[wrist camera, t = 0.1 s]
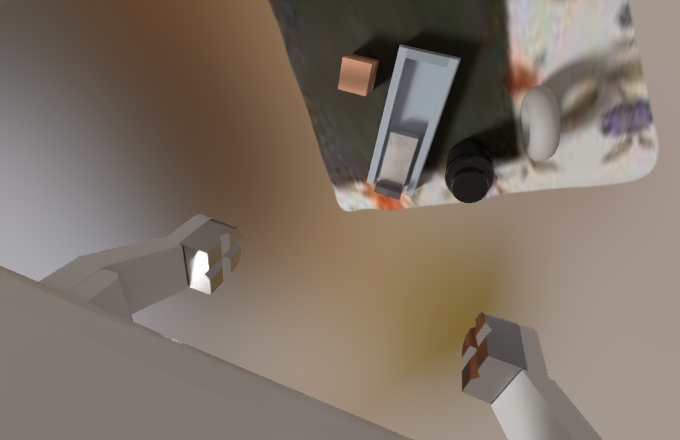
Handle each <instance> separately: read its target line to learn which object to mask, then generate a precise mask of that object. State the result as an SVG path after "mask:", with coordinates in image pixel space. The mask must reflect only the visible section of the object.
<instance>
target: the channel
mask: <svg viewBox="0 0 680 440" xmlns="http://www.w3.org/2000/svg"><path fill="white" fill-rule="evenodd" d="M460 60H461V58H459V57H455V56H450V55H446V54H441V53H437V52H432V51H428V50H423V49H419V48H414V47H410V46H405V45H400V47H399V50H398V54H397V59H396V63H395V67H394V71H393V75H392V79H391V84H390V88H389V92H388V96H387V100H386V104H385V108H384V113H383V117H382V121H381V125H380V129H379V133H378V138H377V142H376V146H375V150H374V154H373V158H372V163H371V167H370V171H369V175H368V179H367V183H369V184H374V182H375V180H376V179H379V175H380V171H381V167H382V164H383V160H384V156H385V152H386V148H387V144H388V141H389V137H390V133H391V131H392V129H393V128H394V127H396V128H400V129H404V130H408V131H411V132H415V133H419V134H420V137H419V140H418V143H417V146H416V149H415V153H414V156H413V159H412V162H411V165H410V168H409V172H408V175H407V178H406V181H405V184H404V187H405V188H408V189H407V192H406V195H409V196H413V193H414V190H415V191H416V188H417V185H418V182H419V179H420V176H421V174H422V171H423V168H424V165H425V162H426V159H427V156H428V153H429V150H430V147H431V144H432V142H433V139H434V136H435V133H436V130H437V127H438V124H439V121H440V118H441V115H442V112H443V109H444V107H445V104H446V101H447V98H448V95H449V92H450V89H451V86H452V83H453V80H454V77H455V75H456V72H457V69H458V66H459V63H460Z"/></svg>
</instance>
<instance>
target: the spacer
mask: <svg viewBox="0 0 680 440" xmlns="http://www.w3.org/2000/svg"><path fill="white" fill-rule="evenodd" d="M378 64H379V60H376V59H372V58H367V57H363V56H359V55H355V54H350V55H347V56H345V57H343V59H342V66H341V72H340V79H339V85H338V89H340V90H344V91H348V92H352V93H356V94H360V95H364V96H366V95H368V94H369V93H370V92H371V91H372V90H373V87H374V83H375V78H376V73H377V69H378Z"/></svg>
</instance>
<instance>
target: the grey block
mask: <svg viewBox="0 0 680 440" xmlns="http://www.w3.org/2000/svg"><path fill="white" fill-rule="evenodd" d="M419 137H420V134H419V133H415V132H411V131H408V130H404V129H400V128H396V127H394V128H393V129H392V131H391V133H390V137H389V141H388V144H387V148H386V152H385V156H384V160H383V164H382V167H381V171H380V175H379V179H378V182H377V184H376V186H375V190H374V192H376V193H379V194H383V195H386V196H389V197H392V198H396V199H400V196H401V193H402V190H403V187H404V184H405V181H406V178H407V175H408V172H409V168H410V165H411V162H412V159H413V156H414V153H415V149H416V146H417V143H418V140H419Z"/></svg>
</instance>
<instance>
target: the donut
mask: <svg viewBox="0 0 680 440" xmlns="http://www.w3.org/2000/svg"><path fill="white" fill-rule="evenodd" d="M521 126H522V136H523V143H524V147H525V151H526V153H527V155H528V156H529V157H530V158H531V159H533V160H535V161H544V160H547V159H548V158H550V157H552V156H553V155H554V154H555V152H556V150H557V147H558V145H559V140H560V111H559V105H558V101H557V98H556V95H555V94H554V92H553V91H552V89H551V88H549V87H547V86H536V87H533V88H531V89H530V90H528V92H527V93H526V94H525V96H524V98H523V101H522V109H521Z"/></svg>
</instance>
